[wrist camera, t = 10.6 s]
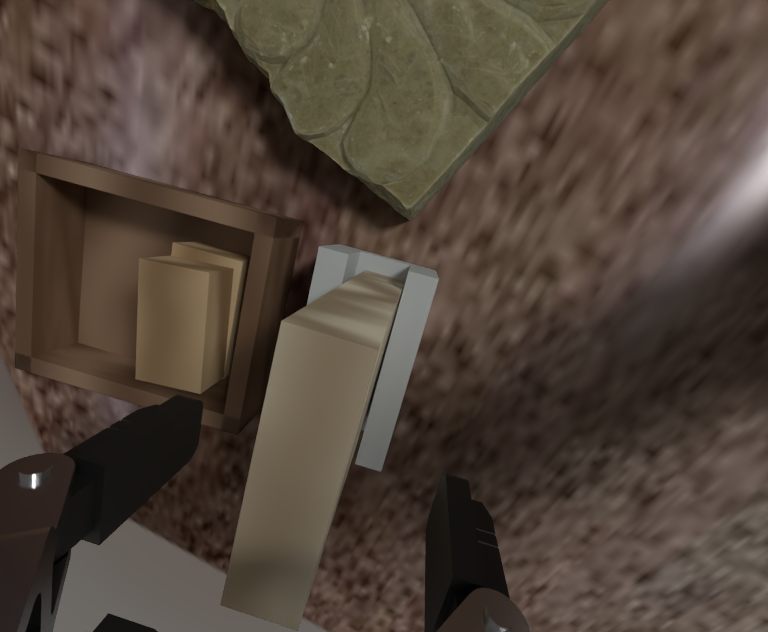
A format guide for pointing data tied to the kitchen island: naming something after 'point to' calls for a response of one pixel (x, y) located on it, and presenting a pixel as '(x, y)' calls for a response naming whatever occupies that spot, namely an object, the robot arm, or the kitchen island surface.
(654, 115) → the kitchen island surface
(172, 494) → the kitchen island surface
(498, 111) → the decorative tile
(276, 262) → the wooden tray
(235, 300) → the oak offcut lower
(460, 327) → the kitchen island surface
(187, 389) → the oak offcut upper
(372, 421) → the slot stand
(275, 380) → the birch sheet
